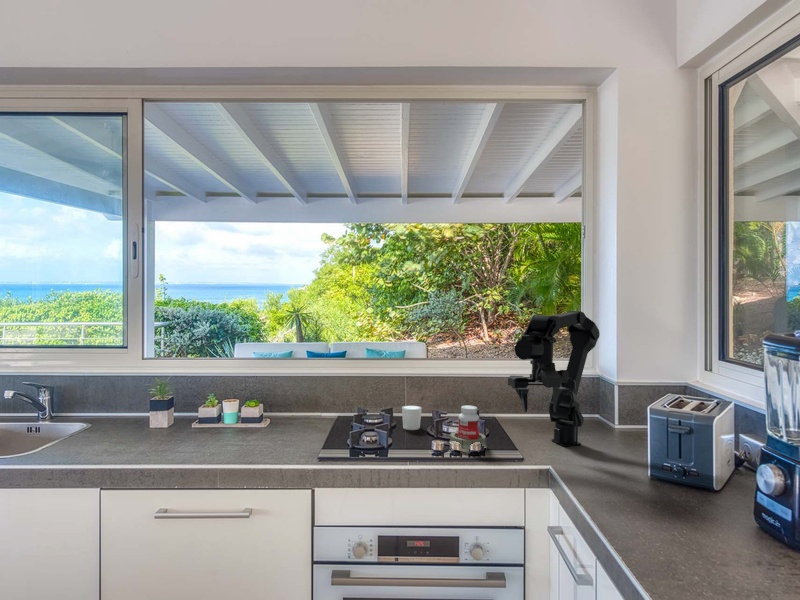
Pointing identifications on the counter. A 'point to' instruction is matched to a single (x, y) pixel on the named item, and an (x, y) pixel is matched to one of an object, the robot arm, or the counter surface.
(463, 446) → the ring holder
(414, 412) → the white cup
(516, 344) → the robot arm
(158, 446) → the counter surface
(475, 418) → the pill bottle
